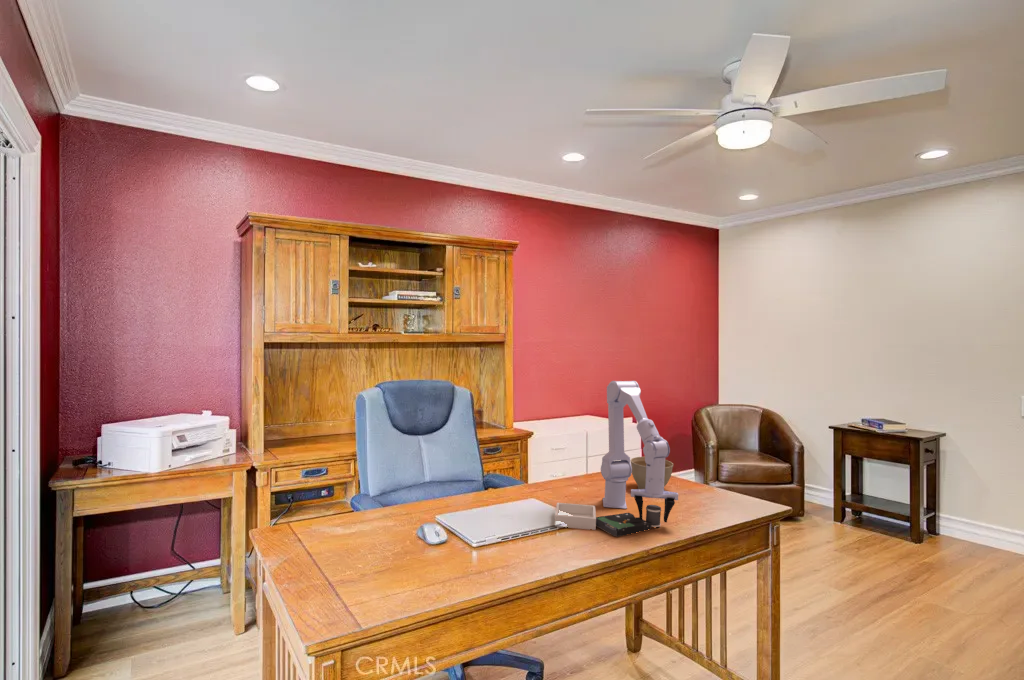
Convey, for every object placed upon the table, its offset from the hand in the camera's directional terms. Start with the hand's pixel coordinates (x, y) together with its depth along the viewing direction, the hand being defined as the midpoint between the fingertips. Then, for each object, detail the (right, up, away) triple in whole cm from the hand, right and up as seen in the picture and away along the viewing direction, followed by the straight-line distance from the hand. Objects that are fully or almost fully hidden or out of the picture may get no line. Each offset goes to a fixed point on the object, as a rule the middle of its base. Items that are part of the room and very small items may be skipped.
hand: (653, 520), depth 179 cm
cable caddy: (-25, -1, +1) cm, 25 cm away
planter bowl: (+9, -1, +40) cm, 41 cm away
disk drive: (-10, -2, -3) cm, 11 cm away
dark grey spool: (0, -2, 0) cm, 2 cm away
